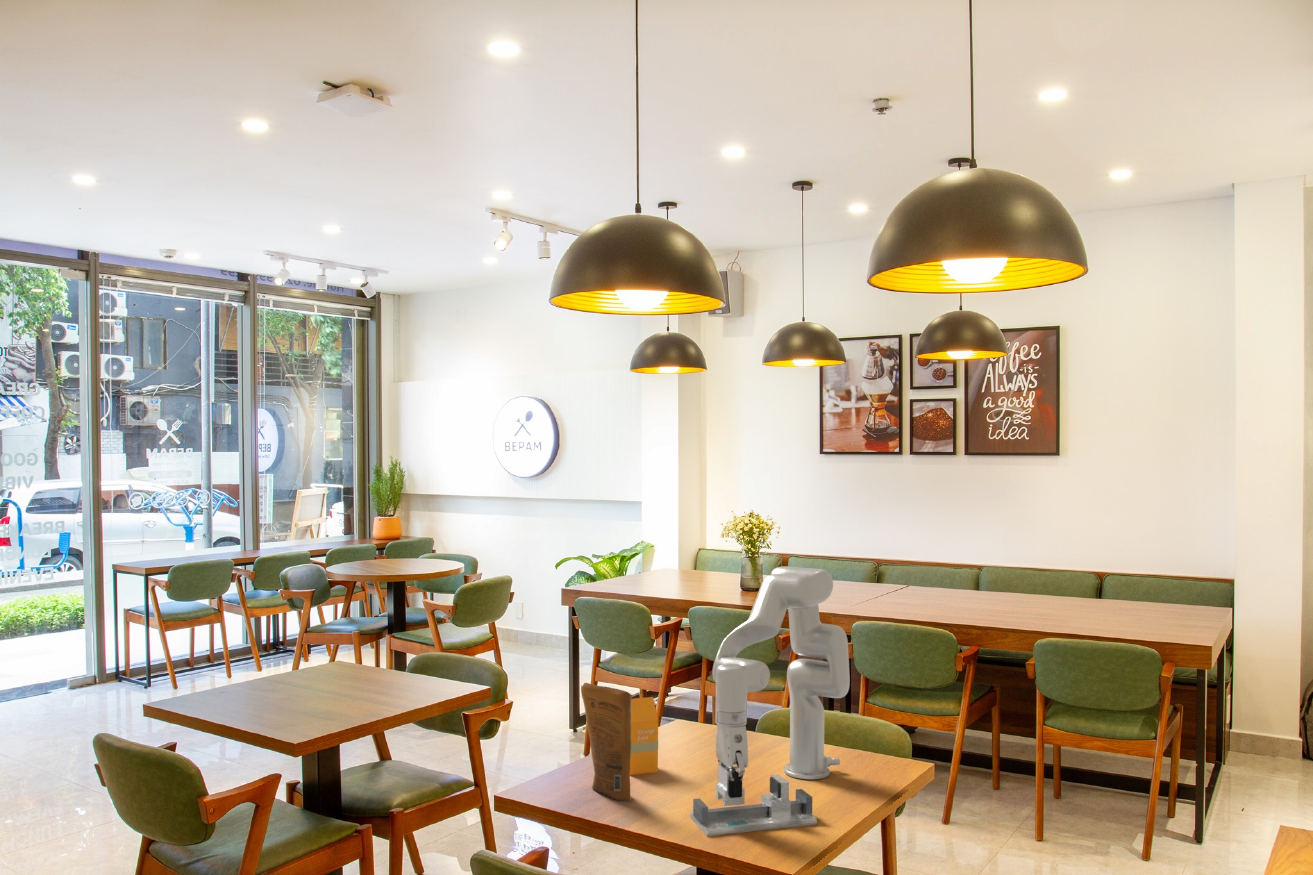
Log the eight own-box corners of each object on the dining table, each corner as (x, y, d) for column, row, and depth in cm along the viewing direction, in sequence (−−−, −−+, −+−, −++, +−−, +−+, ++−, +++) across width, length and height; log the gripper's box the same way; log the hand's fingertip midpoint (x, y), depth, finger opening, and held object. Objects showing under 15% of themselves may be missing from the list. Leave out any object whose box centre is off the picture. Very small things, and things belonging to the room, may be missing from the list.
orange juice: (618, 767, 267) (619, 696, 268) (647, 763, 270) (648, 693, 271) (628, 775, 260) (630, 702, 260) (658, 771, 263) (659, 699, 264)
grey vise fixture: (796, 806, 236) (796, 768, 237) (817, 824, 225) (818, 784, 225) (688, 817, 228) (689, 778, 229) (705, 836, 217) (706, 794, 217)
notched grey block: (735, 795, 229) (735, 762, 229) (744, 804, 223) (744, 769, 223) (715, 797, 227) (716, 764, 227) (724, 805, 221) (725, 771, 222)
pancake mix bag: (620, 806, 235) (621, 693, 236) (577, 786, 250) (578, 680, 251) (641, 800, 240) (642, 690, 241) (597, 781, 254) (599, 677, 255)
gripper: (759, 725, 219) (758, 803, 218) (732, 707, 235) (731, 779, 234) (729, 727, 216) (728, 806, 216) (704, 708, 233) (703, 782, 232)
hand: (730, 791), depth 225 cm, fingers closed on notched grey block, 6 cm apart
